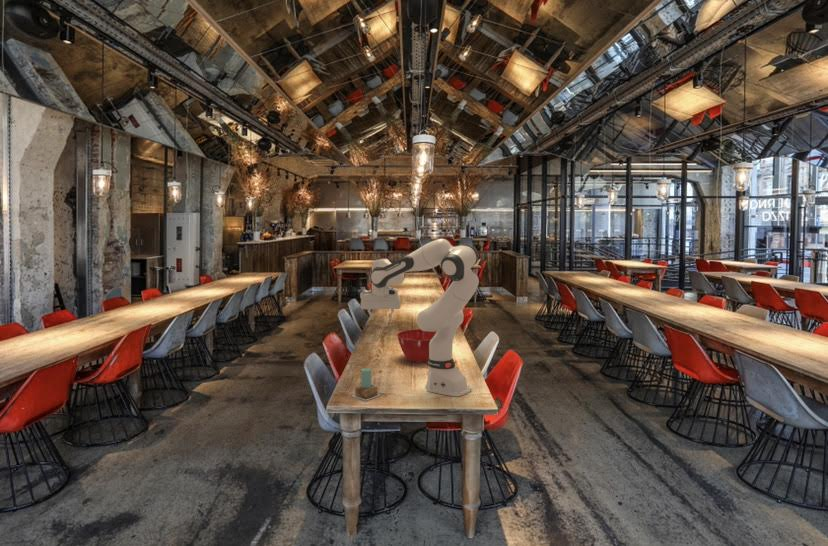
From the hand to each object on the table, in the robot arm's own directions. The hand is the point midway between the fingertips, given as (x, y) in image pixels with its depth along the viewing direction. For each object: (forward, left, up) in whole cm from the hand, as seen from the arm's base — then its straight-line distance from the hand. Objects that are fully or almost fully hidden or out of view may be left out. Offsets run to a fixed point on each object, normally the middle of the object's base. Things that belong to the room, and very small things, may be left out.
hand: (380, 317), depth 252 cm
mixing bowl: (+6, -39, -31) cm, 50 cm away
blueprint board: (-14, +24, -31) cm, 42 cm away
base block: (-14, +24, -31) cm, 41 cm away
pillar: (-14, +24, -27) cm, 39 cm away
